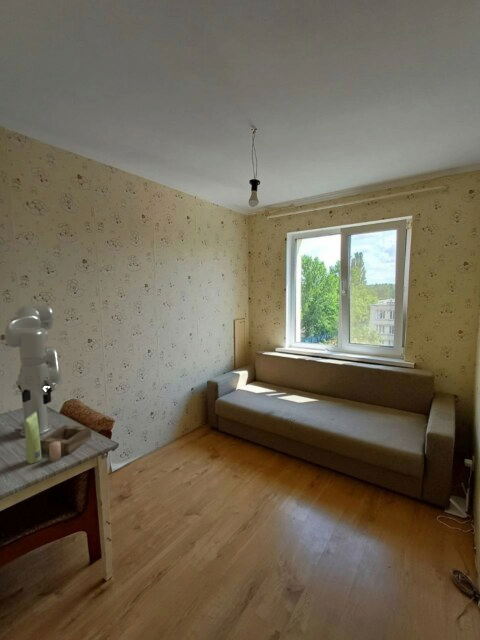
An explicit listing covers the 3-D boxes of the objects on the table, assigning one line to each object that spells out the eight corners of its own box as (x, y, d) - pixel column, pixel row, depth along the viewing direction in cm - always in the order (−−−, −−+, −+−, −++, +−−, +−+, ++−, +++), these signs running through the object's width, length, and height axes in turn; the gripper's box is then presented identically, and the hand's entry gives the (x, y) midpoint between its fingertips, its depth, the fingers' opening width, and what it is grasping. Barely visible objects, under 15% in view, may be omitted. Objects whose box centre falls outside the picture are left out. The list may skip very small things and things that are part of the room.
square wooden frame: (40, 451, 125) (40, 440, 124) (65, 435, 139) (64, 425, 138) (69, 454, 123) (68, 443, 122) (91, 437, 136) (90, 427, 136)
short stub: (47, 461, 118) (46, 445, 117) (55, 456, 121) (54, 440, 121) (56, 462, 117) (55, 446, 116) (63, 457, 121) (62, 441, 120)
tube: (24, 460, 118) (21, 415, 116) (39, 454, 122) (36, 411, 120) (29, 465, 115) (25, 419, 113) (43, 460, 119) (40, 414, 116)
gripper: (6, 362, 113) (10, 403, 115) (45, 364, 110) (47, 407, 112) (24, 357, 120) (27, 396, 122) (60, 359, 117) (62, 400, 119)
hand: (37, 402), depth 117 cm, fingers open, 9 cm apart
